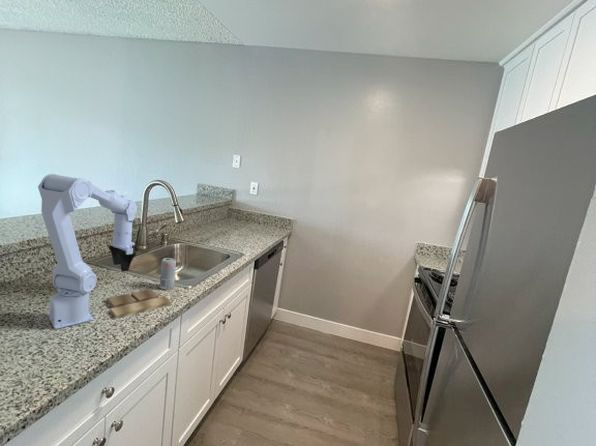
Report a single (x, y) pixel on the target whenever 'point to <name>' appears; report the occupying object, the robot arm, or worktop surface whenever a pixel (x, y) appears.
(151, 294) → the plank
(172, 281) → the energy drink
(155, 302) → the laid board
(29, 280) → the worktop surface
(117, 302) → the brown flat square block
